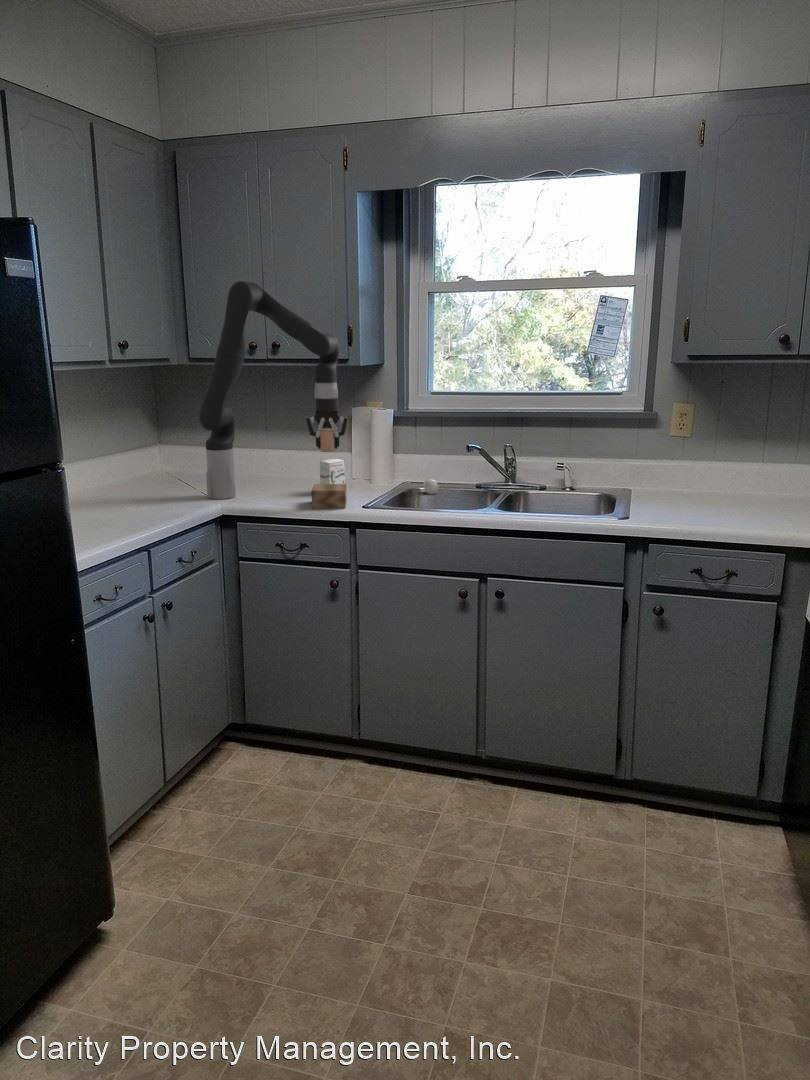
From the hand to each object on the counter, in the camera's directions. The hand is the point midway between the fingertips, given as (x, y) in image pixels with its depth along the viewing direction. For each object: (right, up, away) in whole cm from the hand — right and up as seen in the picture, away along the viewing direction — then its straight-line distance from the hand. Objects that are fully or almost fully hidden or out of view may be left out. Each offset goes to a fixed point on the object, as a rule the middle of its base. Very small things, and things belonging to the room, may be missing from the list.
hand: (327, 448), depth 265 cm
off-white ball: (+35, -12, +21) cm, 43 cm away
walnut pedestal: (0, -19, +5) cm, 19 cm away
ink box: (-1, -13, +26) cm, 29 cm away
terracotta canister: (0, -1, 0) cm, 1 cm away
